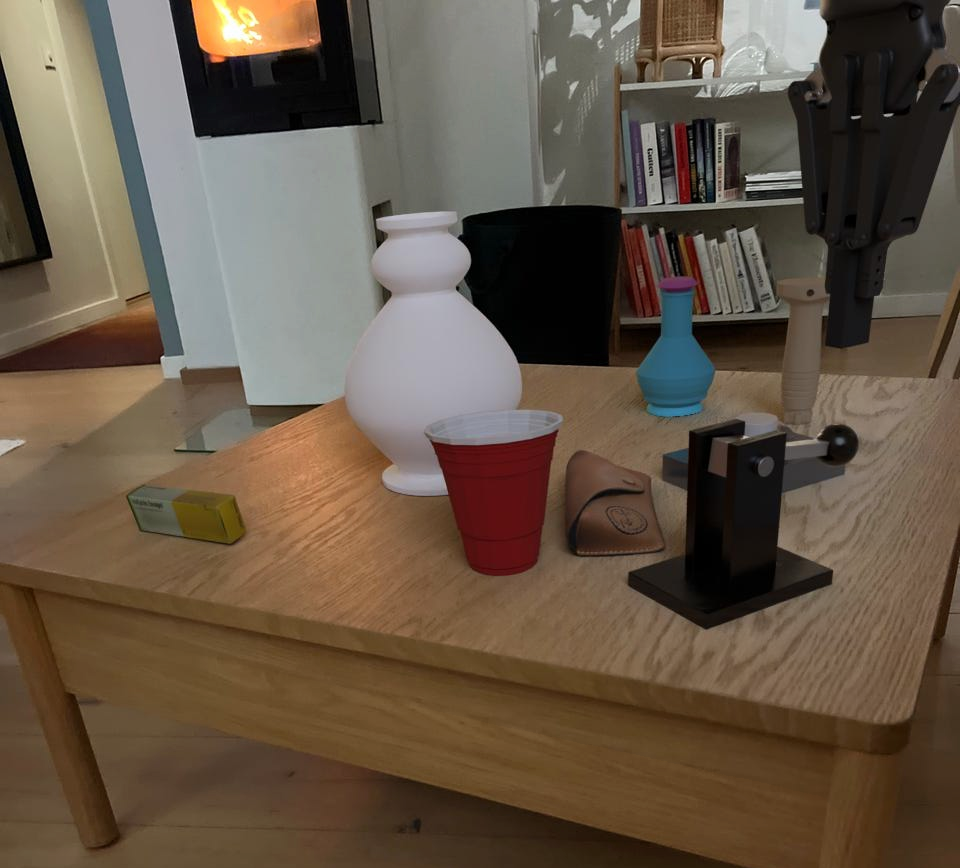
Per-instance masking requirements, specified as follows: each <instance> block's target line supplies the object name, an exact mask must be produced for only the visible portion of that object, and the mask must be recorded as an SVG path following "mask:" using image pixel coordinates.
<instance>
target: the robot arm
mask: <svg viewBox="0 0 960 868" xmlns="http://www.w3.org/2000/svg"><path fill="white" fill-rule="evenodd" d="M950 2H951V0H820V2H819V16H820V17H821V19H822V20H823V21H824V22H825V24H826V34H825V38H824V40H823V44H822V46H821V49H820V51H819V53H818V54H819V55H818V65H817V66H816V67H815V68H814V69H813V71H812V72H810V73H809V74H808V76H807V77H806V78H804V79H803V80H794V81H792V82H790V84H789V86H788V88H787V97H788V101H789V103H790V106H791V108H792V111H793V114H794V116H795V120H796V127H797V141H798V154H799V165H800V176H801V177H800V178H801V189H802V202H803V204H802V205H803V214H804V216H803V217H804V226H805V231H806V233H807V234H808V235H809V236H810V235H811V236H813V235H816V236H818V237H819V238H822V239H823V240H824V242H825V244H826V246H827V257H826V268H825V277H826V278H825V291H826V294H830V299H829V300H828V302H829V303H828V310H827V311H828V312H827V322H826V332H825V342H824V347H830V348H835V349H840V350H842V349H846V348H847V349H848V348H851V347H856V346H861V345H864V344H869V343H870V342H869V341H870V336H871V326H872V318H873V312H874V311H873V309H874V301H875V297H879V296H880V295H881V293H882V291H883V289H884V282H885V275H886V273H885V272H886V265H887V259H888V250H889V247H890V245H891V244H892V243H894V241H896V240H898V239H901V238H904V237H905V236H912V235H913V234H914V235H915V233H916V232H917V231H918V230H919V226H920V224H921V221H922V218H923V215H924V212H925V209H926V206H927V203H928V200H929V196H930V193H931V192H932V191H931V190H932V188H933V185H934V182H935V178H936V175H937V172H938V170H939V167H940V163H941V160H942V158H943V154H944V151H945V148H946V145H947V142H948V139H949V137H950V133H951V130H952V127H953V125H954V124H953V123H954V121H955V118H956V115H957V113H958V112H957V111H958V110H959V109H958V108H959V107H960V61H959V60H958V59H957V58H955V56H953V55H952V53H950V52H949V51H948V50H947V49H946V46H947V33H946V30H945V27H944V18H943V17H944V11H945V8H946V7H947V6H948V5H949V3H950ZM919 92H921V93H920V95H919V97H918V94H919ZM885 115H886V116H885ZM887 115H888V116H887ZM852 117H853V118H852ZM854 117H856V118H854Z"/></svg>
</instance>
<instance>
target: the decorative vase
mask: <svg viewBox="0 0 960 868" xmlns="http://www.w3.org/2000/svg"><path fill="white" fill-rule="evenodd" d="M457 222H458V213H457V211H428V212H427V211H426V212H425V211H424V212H414V213H405V214H397V215H388V216H383V217H379V218H376V219H375V223H376V229H377V230H379V231H382V232H384V233H387V238H386V239H385V240H384V241H383V242H382V243H381V244H380V246H379V247H377V249H376V250H375V252H374V253H373V255H372V258H371V262H370V270H371V273H372V275H373V277H374V278H375V280H377V282H378V283H379V284H381V285H382V286H383V288H385V289H386V290H388V291H390V292H391V297H390V298H389V299H387V301H386V303H385V304H384V305H383V307H382V308H381V309H380V310H379V312H378V313H377V315H376V316H375V317H374V318H373V320H372V321H371V323H370V324H369V325H368V326H367V328H366V330H365V331H364V333H363V335H362V337H361V338H360V339H359V342H358V343H357V345H356V348H355V349H354V352H353V354H352V356H351V358H350V361H349V363H348V366H347V368H346V372H345V376H344V385H343V387H344V388H343V390H344V391H343V392H344V401H345V405H346V409H347V412H348V415H349V417H350V419H351V421H352V422H353V423H354V425H355V426H356V427H357V429H358V430H359V431H360V432H361V434H363V435H364V436H365V437H366V438H367V439H368V440H369V442H370V443H372V445H374V446H375V447H376V449H378V450H379V451H380V452H381V453H382V454H383V455H384V456H385V457H386V458H387V459H388V460H389V461H390V462H392V464H391V465H389V466H387V468H385V469H384V470H383V472H382V474H381V481H382V484H383V486H384V487H385V488H386V489H388V490H390V491H392V492H394V493H397V494H402V495H408V496H418V497H437V496H438V497H439V496H449V494H448V491H447V487H446V483H445V480H444V476H443V472H442V469H441V468H440V465H439V462H438V458H437V455H435V451H434V447H433V446H432V444H431V442H430V439H428V438H427V437H426V436H425V433H424V430H425V428H426V427H427V426H428V425H430V424H432V423H435V422H437V421H439V420H443V419H447V418H451V417H455V416H459V415H465V414H471V413H478V412H485V411H498V410H518V407H519V405H520V402H521V399H522V395H523V394H522V393H523V381H522V380H523V379H522V372H521V369H520V365H519V362H518V360H517V356H516V355H515V353H514V351H513V349H512V348H511V346H510V345H509V343H508V342H507V340H506V339H505V337H504V336H503V335H502V333H501V332H500V331H499V330H498V329H497V327H496V326H495V325H494V324H493V323H492V322H491V321H490V320H489V319H488V318H487V317H486V316H485V315H484V314H483V313H482V312H481V310H479V309H478V308H477V307H476V306H475V305H473V304H472V303H471V302H470V301H469V300H468V299H467V298H466V297H465V296H464V295H462V294H461V293H460V292H459V291H458V290H457V286H458V285H459V283H461V281H462V280H464V277H465V276H466V275H467V273H468V272H469V270H470V268H471V264H472V257H471V253H470V251H469V249H468V248H467V246H466V245H465V244H464V243H463V242H462V240H460V239H458V238H457V237H456V236H455V235H453V234H451V233H450V232H449V228H450V227H451V226H453V225H454V224H456V223H457Z"/></svg>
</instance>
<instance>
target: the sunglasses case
mask: <svg viewBox="0 0 960 868" xmlns="http://www.w3.org/2000/svg"><path fill="white" fill-rule="evenodd" d="M564 480H565V482H564V483H565V485H564V487H565V489H564V491H565V536H566V542H567V545H568V546H569V547H570V548H571V550H573V552H574V553H575V554H576V555H578V556H580V557H624V556H633V555H642V554H650V553H656V552H660V551H662V550H664V549H666V540H665V538H664V533H663V531H662V528H661V525H660V523H659V519H658V516H657V513H656V508H655V504H654V499H653V493H652V477H651V476H650V475H648V474H646V473H644V472H642V471H638V470H633V469H631V468H627V467H624V466H621V465H618V464H615V463H614V462H612V461H611V460H609V459H607V458H604V457H603V456H601V455H599V454H596V453H595V452H591V451H588V450H583V449H579V450H577V451H575V452H574V453H573V454H572V455H571V456H570V458H569V459H568V461H567V463H566V468H565V479H564Z"/></svg>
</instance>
